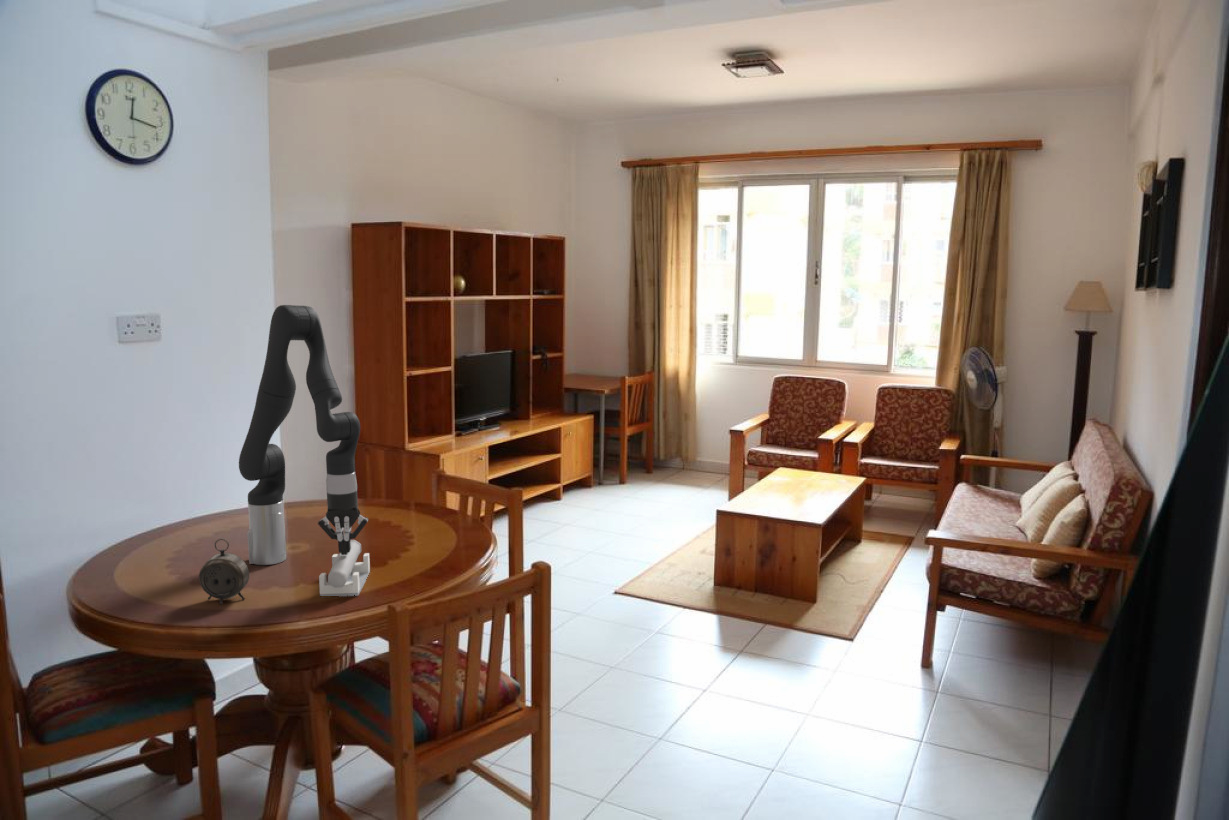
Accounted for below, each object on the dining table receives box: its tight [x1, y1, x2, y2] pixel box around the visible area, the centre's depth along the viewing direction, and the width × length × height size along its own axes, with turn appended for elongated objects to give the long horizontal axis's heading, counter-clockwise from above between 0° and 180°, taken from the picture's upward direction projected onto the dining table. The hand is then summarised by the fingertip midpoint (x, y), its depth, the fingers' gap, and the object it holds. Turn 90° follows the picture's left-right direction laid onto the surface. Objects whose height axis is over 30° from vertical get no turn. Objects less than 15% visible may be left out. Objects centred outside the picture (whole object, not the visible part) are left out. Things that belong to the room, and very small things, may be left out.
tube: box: [327, 539, 362, 588], centre depth 228 cm, size 5×5×25 cm
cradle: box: [318, 552, 371, 597], centre depth 228 cm, size 9×17×6 cm, turn 6°
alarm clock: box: [198, 538, 250, 605], centre depth 215 cm, size 11×5×16 cm, turn 92°
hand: (345, 553), depth 227 cm, fingers closed
